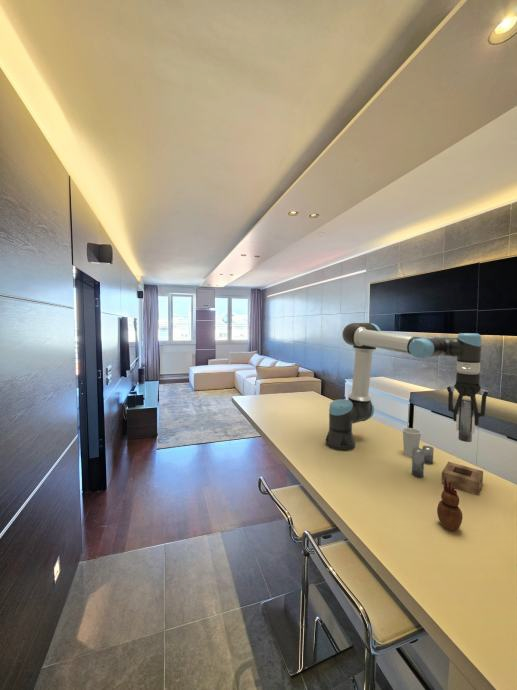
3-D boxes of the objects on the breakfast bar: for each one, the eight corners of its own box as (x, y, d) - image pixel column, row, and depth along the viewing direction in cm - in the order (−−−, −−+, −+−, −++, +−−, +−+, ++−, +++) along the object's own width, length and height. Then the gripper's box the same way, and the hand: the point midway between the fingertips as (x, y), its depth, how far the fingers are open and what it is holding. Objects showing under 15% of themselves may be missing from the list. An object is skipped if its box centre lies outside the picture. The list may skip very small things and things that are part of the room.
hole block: (441, 483, 118) (441, 471, 118) (447, 472, 127) (448, 461, 127) (478, 495, 110) (479, 482, 110) (482, 483, 119) (483, 471, 119)
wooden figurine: (433, 519, 97) (435, 475, 96) (449, 518, 97) (451, 474, 96) (447, 534, 90) (450, 487, 89) (465, 533, 90) (468, 486, 89)
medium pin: (410, 475, 125) (411, 450, 124) (413, 471, 128) (414, 446, 128) (421, 478, 122) (422, 453, 121) (424, 474, 125) (425, 449, 125)
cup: (422, 458, 140) (423, 434, 139) (404, 457, 142) (405, 433, 141) (417, 451, 148) (417, 428, 147) (399, 450, 150) (400, 427, 149)
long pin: (457, 439, 117) (459, 400, 116) (459, 436, 120) (461, 398, 119) (470, 442, 114) (472, 402, 113) (472, 439, 117) (474, 400, 116)
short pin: (420, 462, 137) (421, 447, 136) (423, 459, 140) (424, 444, 139) (431, 465, 134) (432, 450, 133) (434, 462, 137) (434, 447, 136)
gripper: (440, 371, 119) (438, 428, 120) (495, 376, 107) (492, 439, 108) (444, 369, 124) (442, 423, 126) (497, 373, 112) (494, 433, 114)
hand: (465, 430), depth 117 cm, fingers closed on long pin, 4 cm apart
